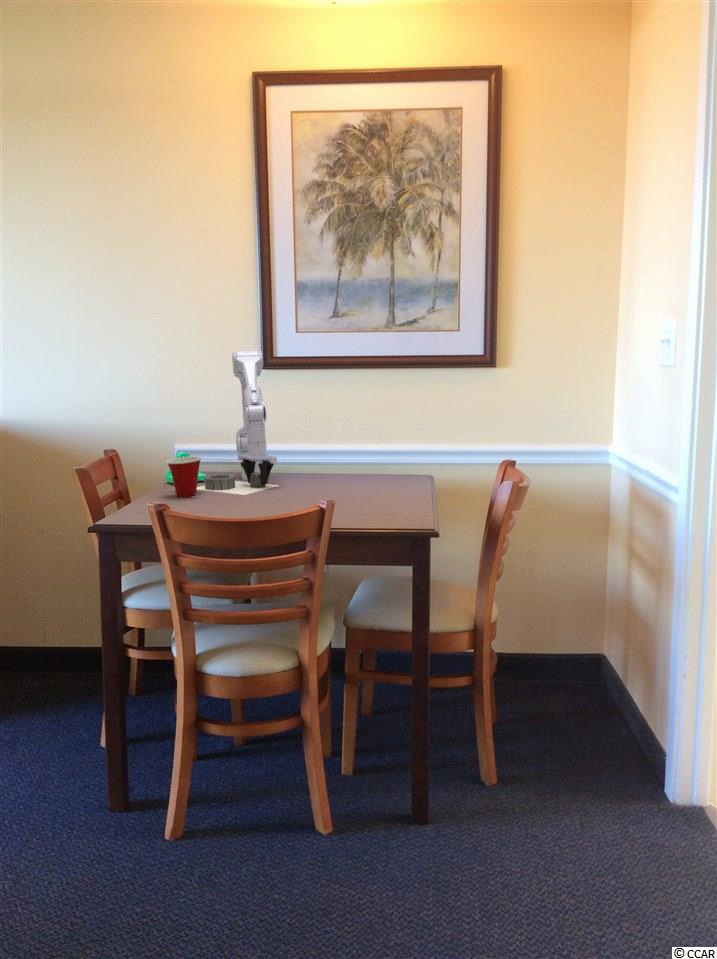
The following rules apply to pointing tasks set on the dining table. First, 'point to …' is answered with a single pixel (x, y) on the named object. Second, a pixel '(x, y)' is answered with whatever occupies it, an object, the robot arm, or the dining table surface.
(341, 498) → the dining table surface
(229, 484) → the board
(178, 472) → the plastic cup
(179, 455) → the camera mount
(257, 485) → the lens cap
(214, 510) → the dining table surface
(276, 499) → the dining table surface
